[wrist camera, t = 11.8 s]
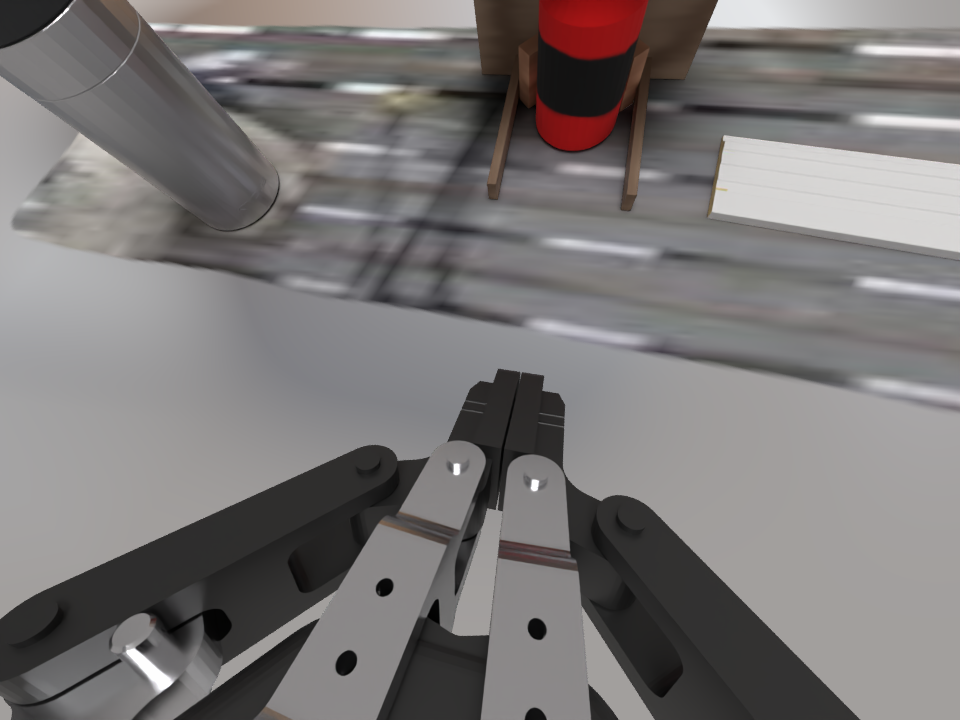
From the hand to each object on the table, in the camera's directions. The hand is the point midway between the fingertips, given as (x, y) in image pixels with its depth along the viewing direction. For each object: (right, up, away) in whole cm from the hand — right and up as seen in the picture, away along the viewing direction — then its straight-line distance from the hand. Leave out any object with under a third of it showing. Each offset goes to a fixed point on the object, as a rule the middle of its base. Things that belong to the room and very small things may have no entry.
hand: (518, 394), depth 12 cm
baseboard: (+34, +14, +18) cm, 41 cm away
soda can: (+8, +24, +23) cm, 35 cm away
